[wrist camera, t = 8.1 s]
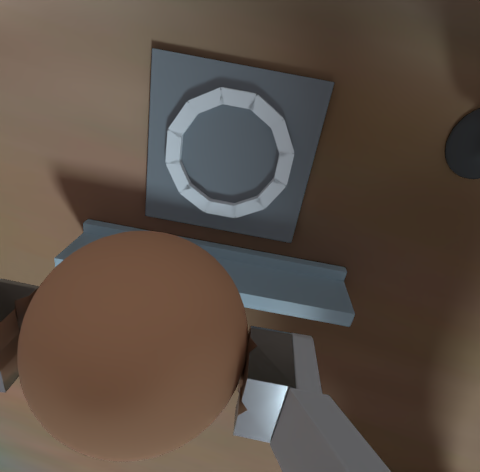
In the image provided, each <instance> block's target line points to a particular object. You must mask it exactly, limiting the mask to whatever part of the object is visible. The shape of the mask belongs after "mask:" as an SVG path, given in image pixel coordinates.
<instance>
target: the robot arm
mask: <svg viewBox="0 0 480 472" xmlns="http://www.w3.org/2000/svg"><path fill="white" fill-rule="evenodd" d="M38 288H39V286H35V285H30V284H26V283H21V282H16V281H11V280H7V279H0V392H5V393H6V391H7V390H8V389H9V388H10V386H11V385H12V384H13V383H14V382H15V380H16V379H17V378H18V377H19V373H18V364H17V349H18V339H19V334H20V329H21V325H22V322H23V318H24V316H25V313H26V311H27V308H28V306H29V304H30V302H31V300H32V298H33V296H34V294H35V293H36V291H37V290H38ZM238 392H239V396H238V400H237V404H236V411H235V421H234V432H233V435H236V436H241V437H245V438H250V439H255V440H259V441H264V442H269V443H270V446H271V448H272V450H273V452H274V454H275V457H276V459H277V461H278V463H279V465H280V467H281V469H282V471H283V472H391V471H390V470H389V468H388V467H387V466H386V465H385V463H384V462H383V461H382V460H381V459H380V457H379V456H378V455H377V454H376V452H375V451H374V450H373V449H372V447H371V446H370V445H369V444H368V443H367V441H366V440H365V439H364V438H363V436H362V435H361V434H360V433H359V431H358V430H357V429H356V428H355V427H354V425H353V424H352V423H351V422H350V420H349V419H348V418H347V417H346V415H345V414H344V413H343V412H342V411H341V409H340V408H339V407H338V406H337V404H336V403H335V402H334V401H333V399H332V398H331V397H330V396H329V395H326V394H322V389H321V382H320V376H319V370H318V364H317V358H316V352H315V346H314V340H313V338H312V337H311V336H309V335H303V334H297V333H288V332H283V331H277V330H272V329H266V328H260V327H255V326H250V329H249V332H248V343H247V351H246V358H245V365H244V368H243V371H242V374H241V377H240V380H239V383H238Z"/></svg>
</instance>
